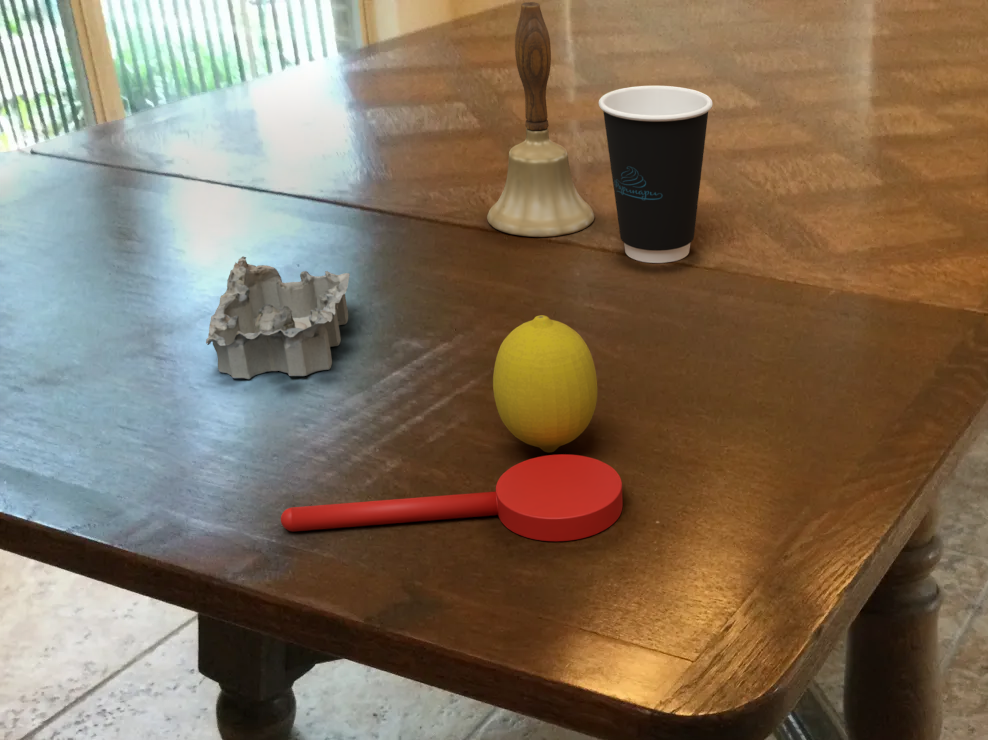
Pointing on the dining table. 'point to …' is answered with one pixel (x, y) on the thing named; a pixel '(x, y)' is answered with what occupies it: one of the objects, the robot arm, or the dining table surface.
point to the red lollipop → (498, 502)
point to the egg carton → (277, 321)
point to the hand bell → (537, 151)
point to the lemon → (545, 383)
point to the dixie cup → (656, 166)
